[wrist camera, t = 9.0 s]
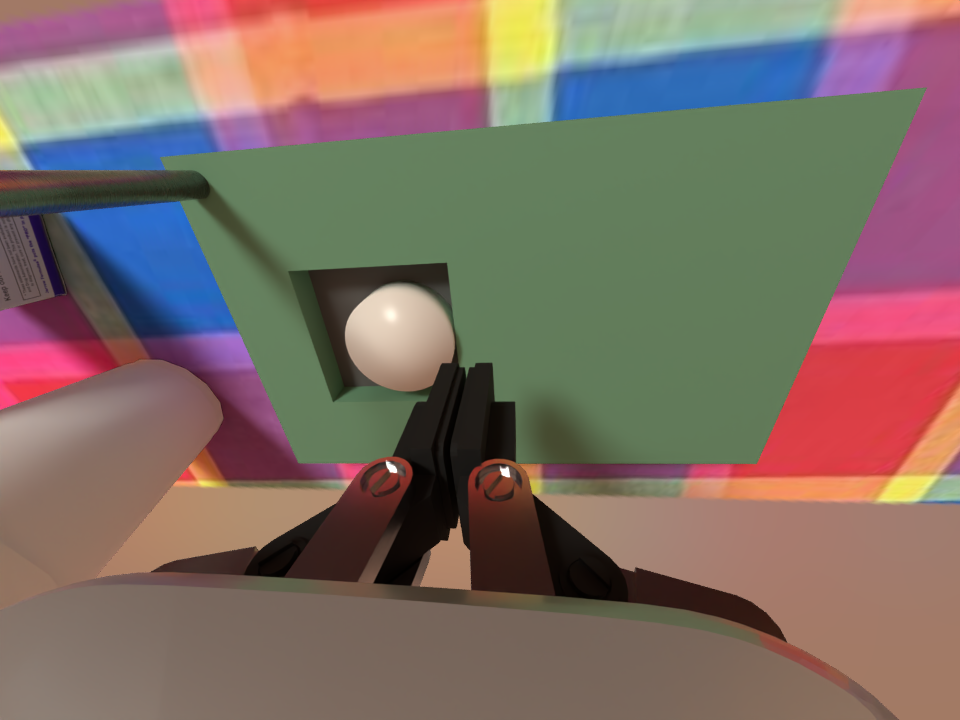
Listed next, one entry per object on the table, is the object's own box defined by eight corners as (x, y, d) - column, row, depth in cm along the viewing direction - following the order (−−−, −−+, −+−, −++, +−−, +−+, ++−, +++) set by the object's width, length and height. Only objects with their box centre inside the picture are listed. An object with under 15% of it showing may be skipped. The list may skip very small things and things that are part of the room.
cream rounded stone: (447, 273, 16) (440, 285, 14) (466, 365, 18) (462, 386, 16) (347, 288, 16) (328, 301, 15) (378, 375, 19) (365, 396, 17)
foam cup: (254, 465, 25) (40, 715, 13) (124, 439, 24) (-210, 675, 13) (234, 353, 20) (-119, 592, 9) (73, 319, 20) (-518, 523, 8)
